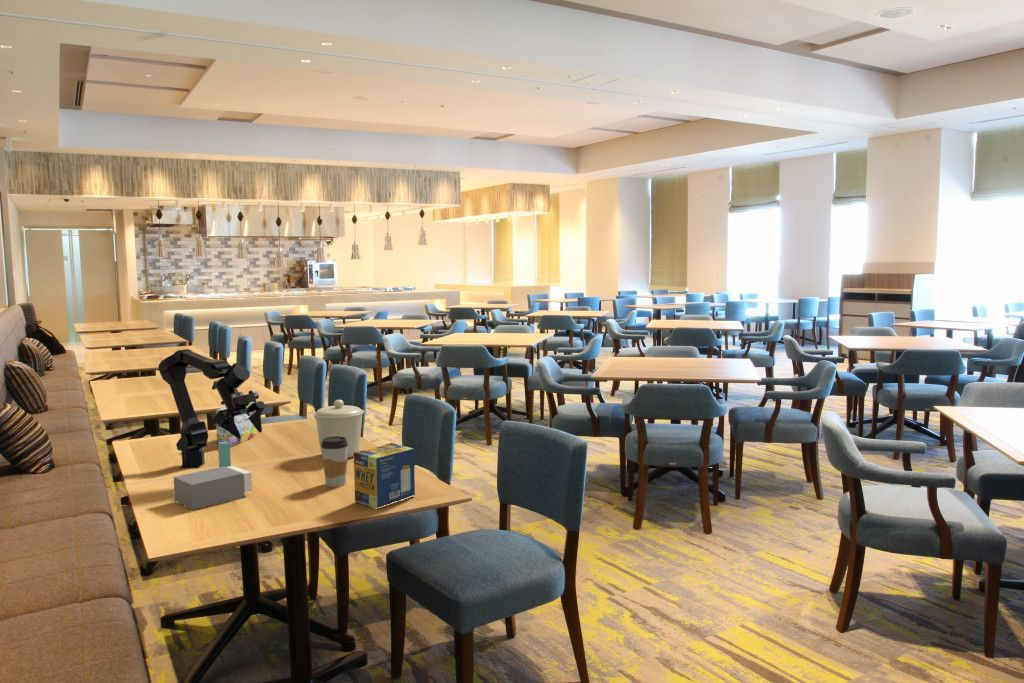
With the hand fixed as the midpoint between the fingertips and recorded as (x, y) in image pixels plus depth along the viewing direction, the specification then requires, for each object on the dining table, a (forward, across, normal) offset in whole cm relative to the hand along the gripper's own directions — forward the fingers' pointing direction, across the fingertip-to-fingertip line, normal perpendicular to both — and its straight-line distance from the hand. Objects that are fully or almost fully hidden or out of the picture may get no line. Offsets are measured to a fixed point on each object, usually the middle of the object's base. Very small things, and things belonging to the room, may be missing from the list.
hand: (250, 434), depth 256 cm
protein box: (+43, +1, -37) cm, 56 cm away
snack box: (-12, +34, +45) cm, 57 cm away
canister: (+17, +35, +2) cm, 39 cm away
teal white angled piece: (+13, -21, +3) cm, 25 cm away
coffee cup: (+29, +6, -17) cm, 34 cm away
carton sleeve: (+15, -23, +2) cm, 28 cm away
